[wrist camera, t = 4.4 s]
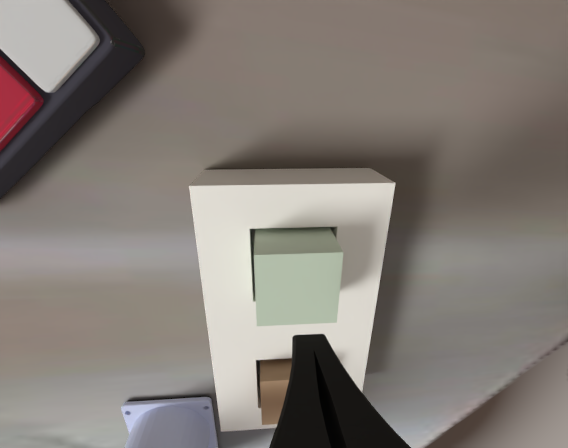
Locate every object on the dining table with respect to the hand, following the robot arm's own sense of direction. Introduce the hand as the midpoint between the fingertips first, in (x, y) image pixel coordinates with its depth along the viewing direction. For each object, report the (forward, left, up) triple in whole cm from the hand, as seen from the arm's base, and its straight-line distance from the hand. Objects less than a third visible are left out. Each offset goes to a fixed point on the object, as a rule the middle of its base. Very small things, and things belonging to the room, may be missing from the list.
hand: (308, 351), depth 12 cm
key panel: (-4, 0, -10) cm, 10 cm away
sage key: (+1, 0, -7) cm, 7 cm away
